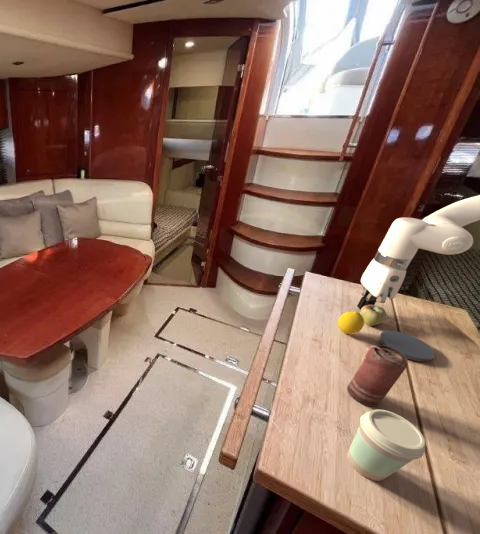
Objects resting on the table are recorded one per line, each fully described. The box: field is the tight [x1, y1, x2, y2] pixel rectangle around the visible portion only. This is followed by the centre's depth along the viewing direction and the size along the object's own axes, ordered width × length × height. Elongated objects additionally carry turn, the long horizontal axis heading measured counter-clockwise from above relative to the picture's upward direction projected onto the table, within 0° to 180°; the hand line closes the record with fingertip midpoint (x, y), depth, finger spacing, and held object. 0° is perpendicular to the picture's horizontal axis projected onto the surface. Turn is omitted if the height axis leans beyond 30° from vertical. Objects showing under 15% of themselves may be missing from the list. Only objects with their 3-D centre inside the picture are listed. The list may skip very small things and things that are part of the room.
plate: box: [378, 330, 435, 362], centre depth 85 cm, size 11×11×2 cm
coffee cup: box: [346, 408, 426, 482], centre depth 57 cm, size 8×8×12 cm
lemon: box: [337, 310, 365, 335], centre depth 89 cm, size 6×6×8 cm
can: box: [346, 344, 409, 407], centre depth 69 cm, size 6×6×14 cm
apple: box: [359, 304, 387, 327], centre depth 94 cm, size 6×8×6 cm
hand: (363, 308), depth 99 cm, fingers closed
